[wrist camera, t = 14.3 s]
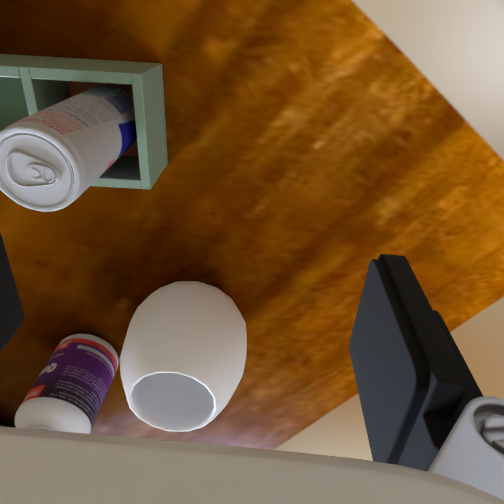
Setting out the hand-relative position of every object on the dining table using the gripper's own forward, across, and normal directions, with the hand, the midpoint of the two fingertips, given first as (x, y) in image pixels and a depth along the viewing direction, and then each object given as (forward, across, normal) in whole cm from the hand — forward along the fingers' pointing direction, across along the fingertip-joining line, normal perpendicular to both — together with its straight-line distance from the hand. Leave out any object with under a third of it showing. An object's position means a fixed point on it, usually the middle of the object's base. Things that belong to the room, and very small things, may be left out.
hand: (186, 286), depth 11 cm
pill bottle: (+30, +19, +34) cm, 49 cm away
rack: (+30, +16, +4) cm, 35 cm away
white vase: (+30, +5, +26) cm, 40 cm away
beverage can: (+30, +12, +3) cm, 32 cm away
